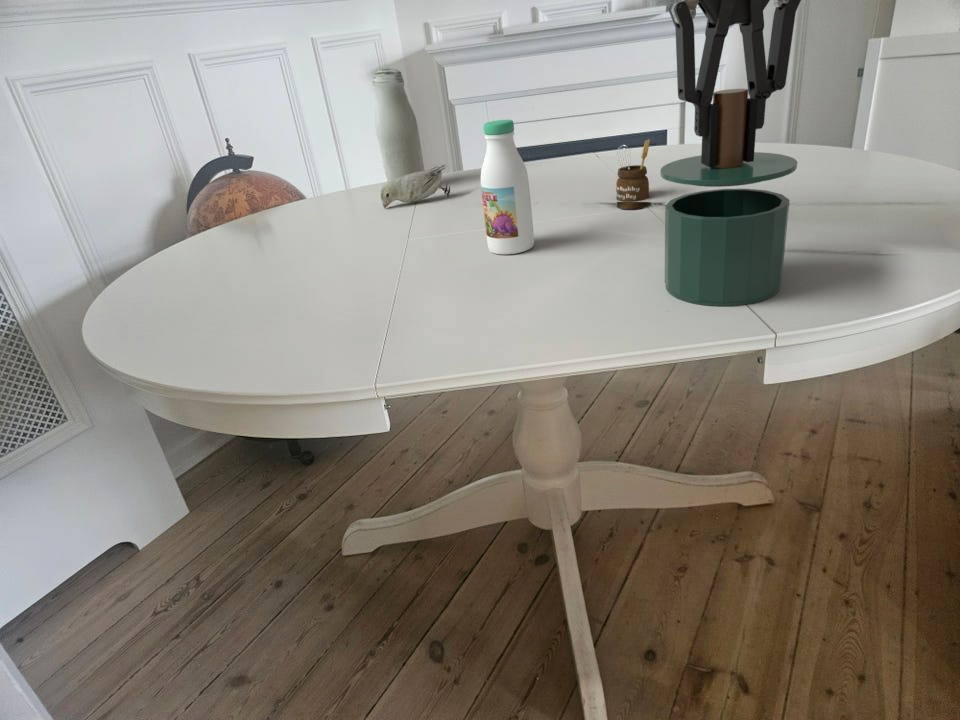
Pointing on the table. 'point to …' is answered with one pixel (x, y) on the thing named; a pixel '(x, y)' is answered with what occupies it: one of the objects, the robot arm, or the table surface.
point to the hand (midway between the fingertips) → (727, 161)
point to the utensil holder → (633, 183)
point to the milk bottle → (505, 192)
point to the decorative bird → (413, 186)
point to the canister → (725, 246)
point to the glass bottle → (396, 126)
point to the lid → (730, 152)
